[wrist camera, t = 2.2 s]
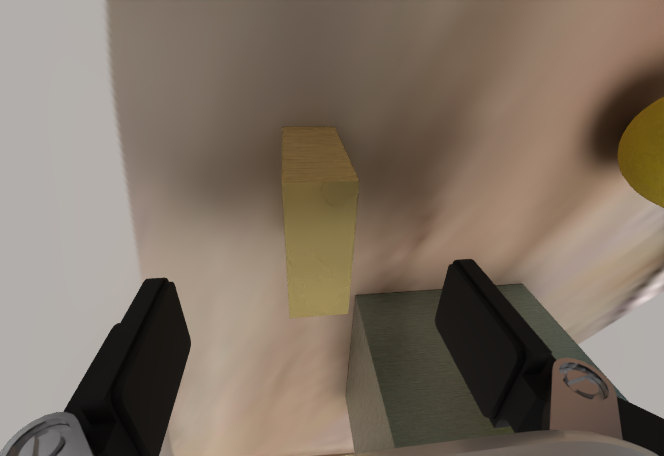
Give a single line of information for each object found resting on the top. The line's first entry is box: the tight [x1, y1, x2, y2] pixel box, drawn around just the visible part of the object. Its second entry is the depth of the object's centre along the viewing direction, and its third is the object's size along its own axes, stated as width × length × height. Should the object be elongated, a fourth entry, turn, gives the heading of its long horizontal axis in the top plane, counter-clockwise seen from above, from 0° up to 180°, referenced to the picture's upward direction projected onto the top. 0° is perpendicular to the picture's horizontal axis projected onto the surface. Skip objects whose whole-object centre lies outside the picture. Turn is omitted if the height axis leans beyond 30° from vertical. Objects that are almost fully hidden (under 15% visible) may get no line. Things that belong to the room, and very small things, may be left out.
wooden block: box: [282, 127, 359, 318], centre depth 14 cm, size 6×2×6 cm, turn 178°
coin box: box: [346, 284, 628, 454], centre depth 21 cm, size 12×12×11 cm
